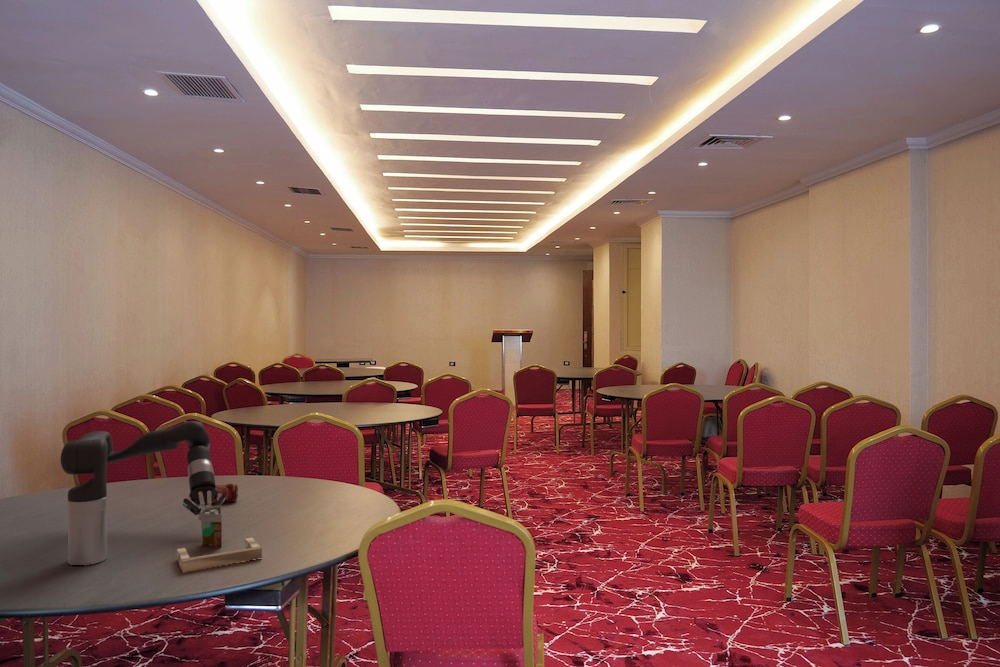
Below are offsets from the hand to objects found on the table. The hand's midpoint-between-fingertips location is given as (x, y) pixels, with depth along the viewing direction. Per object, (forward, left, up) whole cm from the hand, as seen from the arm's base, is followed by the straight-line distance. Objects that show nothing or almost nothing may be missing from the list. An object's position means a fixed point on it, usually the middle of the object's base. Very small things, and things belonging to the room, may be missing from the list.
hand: (207, 524), depth 210 cm
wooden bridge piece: (+22, -1, -4) cm, 22 cm away
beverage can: (-45, +11, -5) cm, 46 cm away
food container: (+7, 0, -4) cm, 8 cm away
